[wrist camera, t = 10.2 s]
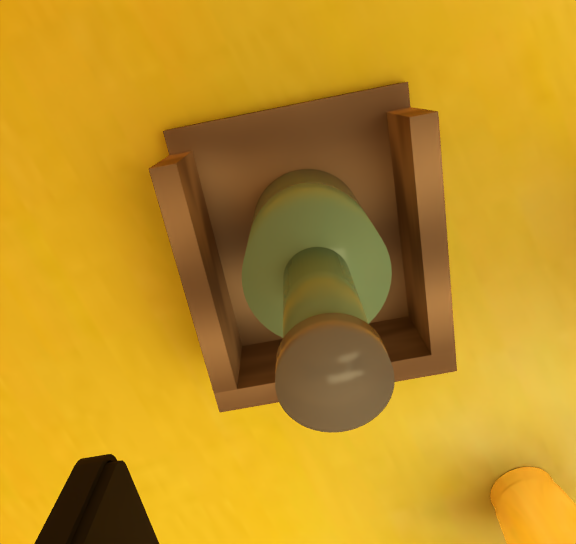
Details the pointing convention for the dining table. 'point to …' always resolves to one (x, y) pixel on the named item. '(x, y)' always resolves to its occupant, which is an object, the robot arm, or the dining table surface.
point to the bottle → (320, 299)
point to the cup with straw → (533, 508)
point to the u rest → (366, 188)
